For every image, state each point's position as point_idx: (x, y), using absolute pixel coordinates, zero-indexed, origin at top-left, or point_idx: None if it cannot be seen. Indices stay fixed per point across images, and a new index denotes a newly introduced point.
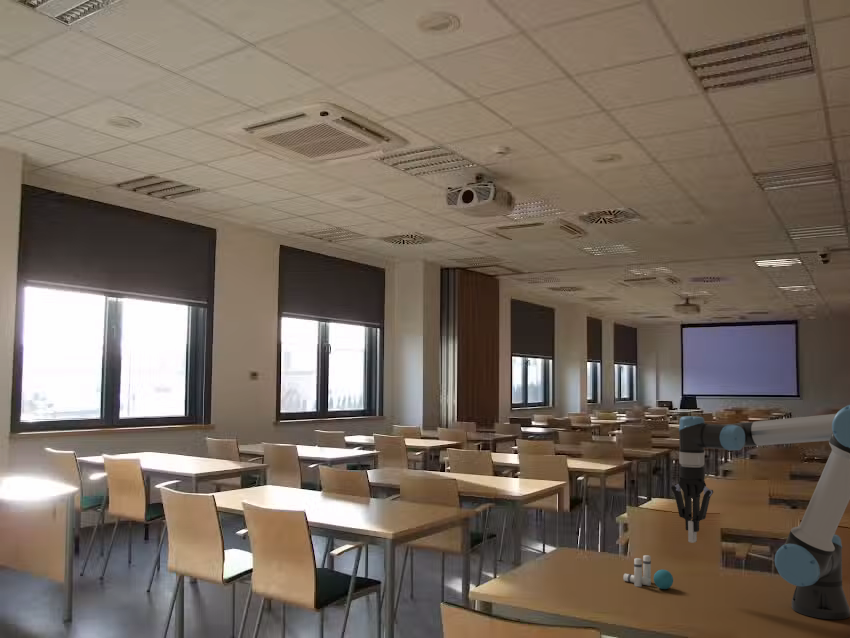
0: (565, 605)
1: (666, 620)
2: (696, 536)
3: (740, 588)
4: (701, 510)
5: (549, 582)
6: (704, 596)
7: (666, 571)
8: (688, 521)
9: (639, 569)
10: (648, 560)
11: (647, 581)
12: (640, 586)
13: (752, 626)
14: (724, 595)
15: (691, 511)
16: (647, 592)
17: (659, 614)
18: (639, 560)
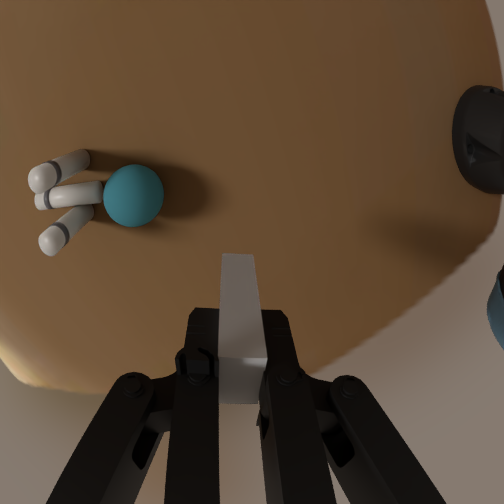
0: (106, 387)
1: None
2: (255, 272)
3: (321, 17)
4: (352, 482)
5: (4, 305)
6: (262, 169)
7: (136, 208)
8: (220, 400)
9: (71, 237)
10: (53, 185)
11: (96, 202)
12: (93, 215)
13: (389, 309)
14: (307, 119)
15: (218, 439)
16: (129, 243)
17: None
18: (57, 251)
